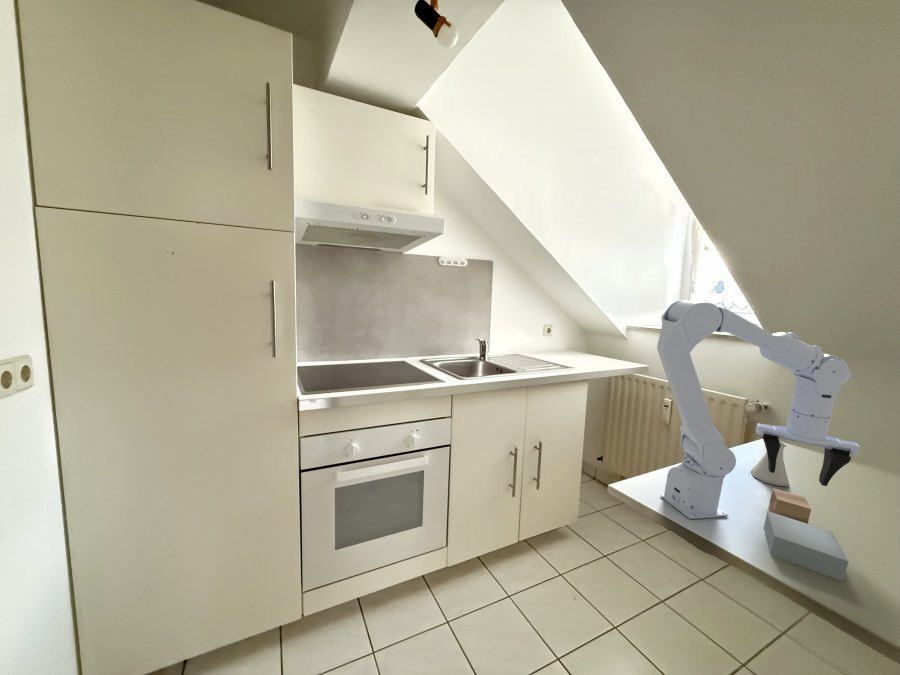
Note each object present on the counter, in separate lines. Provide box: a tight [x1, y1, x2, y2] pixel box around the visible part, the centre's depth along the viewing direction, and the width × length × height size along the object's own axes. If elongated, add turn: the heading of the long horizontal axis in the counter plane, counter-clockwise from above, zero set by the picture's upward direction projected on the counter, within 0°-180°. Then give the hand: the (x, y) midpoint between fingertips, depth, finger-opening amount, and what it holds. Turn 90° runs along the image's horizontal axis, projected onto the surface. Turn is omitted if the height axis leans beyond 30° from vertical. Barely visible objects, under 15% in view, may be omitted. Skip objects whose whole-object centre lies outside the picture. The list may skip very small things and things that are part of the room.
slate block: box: [763, 510, 849, 582], centre depth 64 cm, size 9×9×4 cm
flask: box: [750, 440, 790, 487], centre depth 89 cm, size 7×7×10 cm
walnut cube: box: [767, 487, 812, 524], centre depth 73 cm, size 5×5×5 cm
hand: (796, 476), depth 72 cm, fingers open, 7 cm apart
